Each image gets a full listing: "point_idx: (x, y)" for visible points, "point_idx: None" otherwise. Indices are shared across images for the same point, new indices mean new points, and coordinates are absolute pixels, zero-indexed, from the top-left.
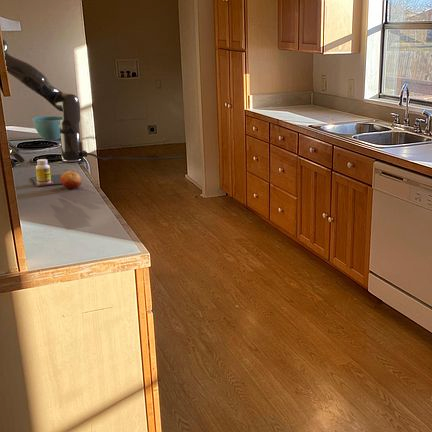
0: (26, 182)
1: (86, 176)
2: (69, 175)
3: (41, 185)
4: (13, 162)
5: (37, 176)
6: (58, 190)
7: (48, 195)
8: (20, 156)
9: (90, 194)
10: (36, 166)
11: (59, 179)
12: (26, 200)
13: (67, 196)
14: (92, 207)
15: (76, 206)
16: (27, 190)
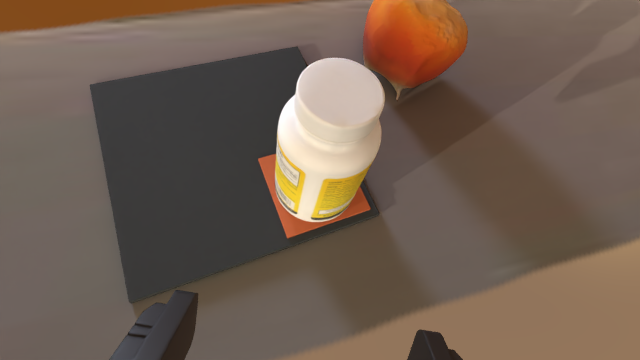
0: (257, 312)
1: (165, 19)
2: (455, 9)
3: (369, 194)
4: (448, 356)
5: (350, 196)
6: (440, 111)
7: (527, 141)
8: (174, 335)
9: (483, 9)
10: (358, 162)
11: (233, 122)
12: (627, 219)
13: (525, 73)
14: (624, 7)
15: (631, 44)
16: (457, 256)
